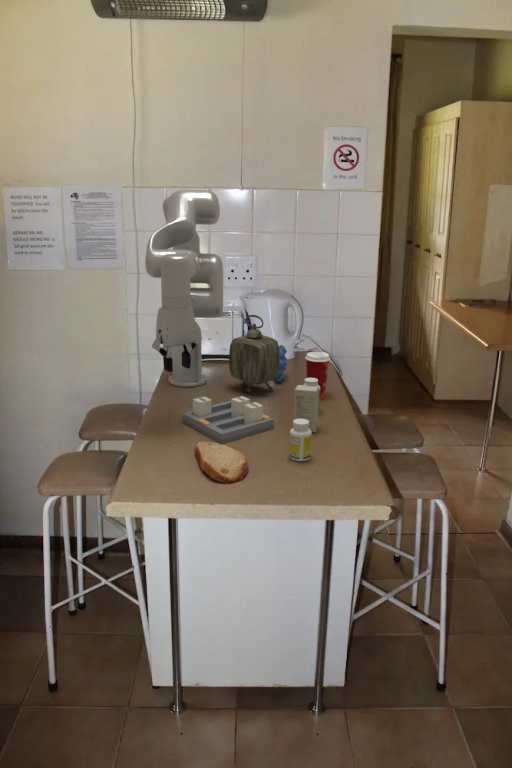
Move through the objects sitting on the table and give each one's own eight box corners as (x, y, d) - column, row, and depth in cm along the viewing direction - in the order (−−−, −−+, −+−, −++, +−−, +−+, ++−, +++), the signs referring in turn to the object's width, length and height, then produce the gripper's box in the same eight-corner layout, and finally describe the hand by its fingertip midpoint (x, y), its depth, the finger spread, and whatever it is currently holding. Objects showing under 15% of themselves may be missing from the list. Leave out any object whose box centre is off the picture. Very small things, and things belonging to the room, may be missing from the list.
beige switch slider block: (193, 417, 188) (192, 398, 186) (204, 414, 191) (204, 395, 189) (199, 421, 186) (199, 401, 184) (211, 418, 188) (211, 398, 186)
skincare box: (318, 427, 186) (320, 386, 183) (315, 433, 183) (317, 391, 179) (295, 424, 188) (297, 383, 184) (292, 430, 184) (294, 388, 180)
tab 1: (231, 417, 189) (231, 397, 187) (242, 414, 191) (242, 395, 190) (238, 420, 187) (238, 401, 185) (249, 417, 189) (249, 398, 187)
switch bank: (182, 421, 188) (182, 411, 187) (232, 408, 199) (233, 399, 198) (221, 443, 174) (221, 433, 173) (273, 428, 185) (274, 418, 184)
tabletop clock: (278, 392, 214) (281, 316, 206) (262, 399, 208) (264, 321, 200) (243, 382, 223) (244, 309, 215) (226, 389, 216) (226, 314, 208)
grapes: (269, 374, 232) (270, 340, 229) (288, 375, 231) (290, 342, 228) (265, 384, 221) (265, 349, 218) (285, 385, 220) (286, 351, 217)
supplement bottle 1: (309, 453, 170) (311, 417, 167) (311, 462, 165) (313, 425, 162) (288, 452, 170) (289, 417, 167) (289, 461, 165) (291, 425, 162)
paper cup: (332, 399, 209) (334, 356, 205) (310, 401, 206) (312, 358, 202) (320, 391, 216) (323, 349, 211) (299, 393, 213) (301, 351, 209)
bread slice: (201, 445, 174) (201, 432, 173) (264, 458, 168) (265, 444, 166) (167, 473, 158) (166, 459, 157) (236, 488, 152) (236, 473, 151)
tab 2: (244, 423, 185) (244, 403, 183) (255, 420, 187) (255, 401, 185) (251, 427, 182) (251, 407, 180) (262, 424, 185) (263, 404, 183)
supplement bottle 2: (307, 416, 194) (309, 383, 191) (296, 410, 199) (297, 378, 195) (322, 413, 197) (324, 380, 194) (311, 407, 202) (312, 375, 198)
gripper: (195, 296, 180) (195, 360, 186) (140, 303, 170) (142, 371, 176) (211, 301, 175) (211, 367, 181) (155, 308, 165) (157, 378, 170)
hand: (177, 368), depth 178 cm, fingers open, 4 cm apart
